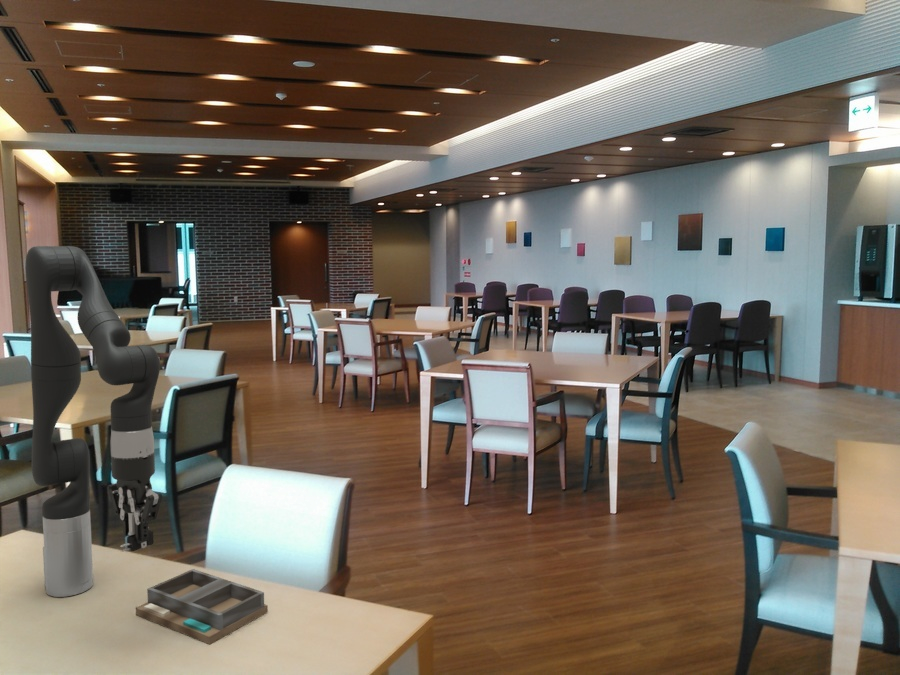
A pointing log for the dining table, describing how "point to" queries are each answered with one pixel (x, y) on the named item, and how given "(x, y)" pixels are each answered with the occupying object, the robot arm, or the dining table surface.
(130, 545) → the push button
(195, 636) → the dock
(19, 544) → the dining table surface
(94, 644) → the dining table surface
